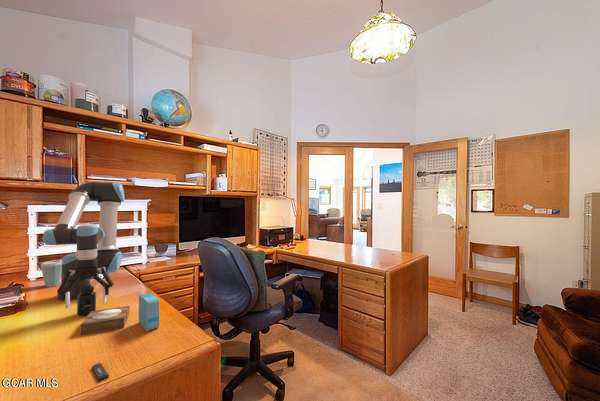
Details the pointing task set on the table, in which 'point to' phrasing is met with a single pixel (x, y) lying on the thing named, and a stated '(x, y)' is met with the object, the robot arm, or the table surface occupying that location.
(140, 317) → the light-blue rounded block
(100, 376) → the usb stick
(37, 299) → the table surface
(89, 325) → the base
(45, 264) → the disposable coffee cup
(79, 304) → the supplement bottle
